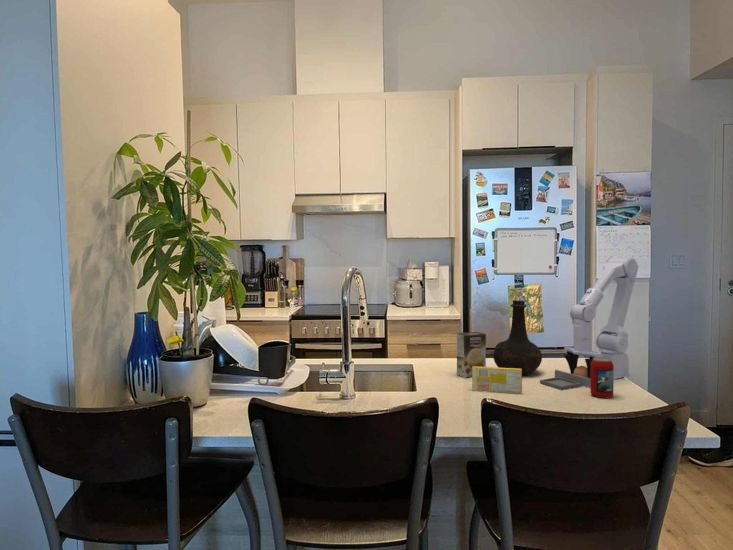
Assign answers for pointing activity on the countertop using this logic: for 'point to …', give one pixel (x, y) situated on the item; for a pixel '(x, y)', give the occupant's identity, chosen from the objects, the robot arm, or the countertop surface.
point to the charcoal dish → (560, 383)
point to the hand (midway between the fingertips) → (582, 375)
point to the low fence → (573, 377)
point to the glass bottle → (518, 345)
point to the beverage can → (602, 377)
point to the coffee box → (470, 352)
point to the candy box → (497, 379)
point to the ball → (581, 371)
